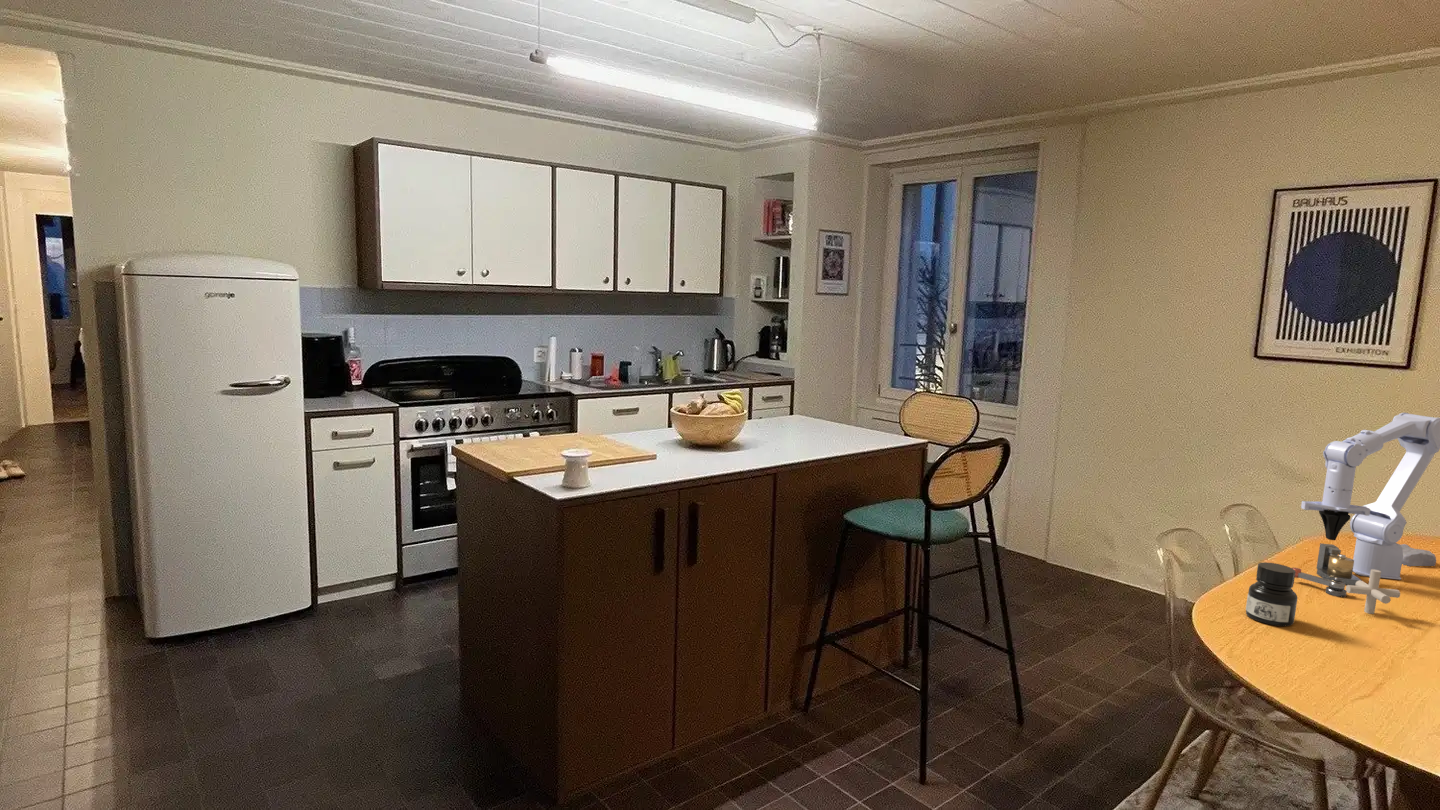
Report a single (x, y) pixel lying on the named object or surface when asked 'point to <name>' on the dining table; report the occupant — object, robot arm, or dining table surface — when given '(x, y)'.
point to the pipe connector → (1373, 591)
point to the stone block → (1417, 557)
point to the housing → (1340, 566)
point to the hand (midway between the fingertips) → (1330, 539)
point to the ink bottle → (1272, 595)
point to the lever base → (1336, 592)
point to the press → (1323, 562)
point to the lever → (1319, 580)
